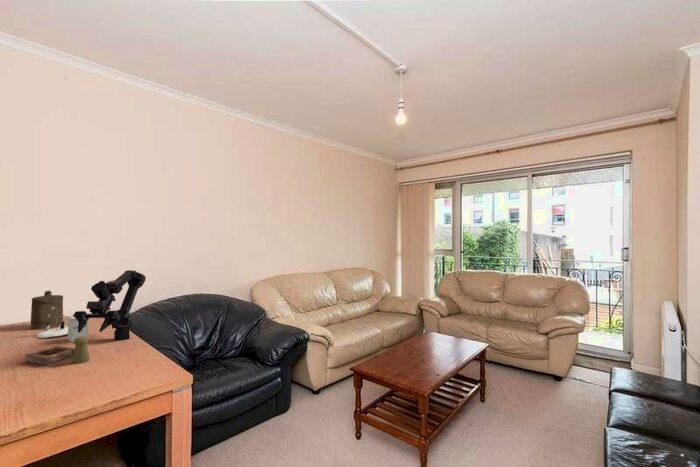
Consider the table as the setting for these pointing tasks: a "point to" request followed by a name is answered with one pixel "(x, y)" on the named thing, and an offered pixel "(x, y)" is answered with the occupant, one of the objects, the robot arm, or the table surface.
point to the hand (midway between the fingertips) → (89, 331)
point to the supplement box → (75, 329)
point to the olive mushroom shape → (81, 350)
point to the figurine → (54, 332)
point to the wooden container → (46, 310)
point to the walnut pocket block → (50, 356)
